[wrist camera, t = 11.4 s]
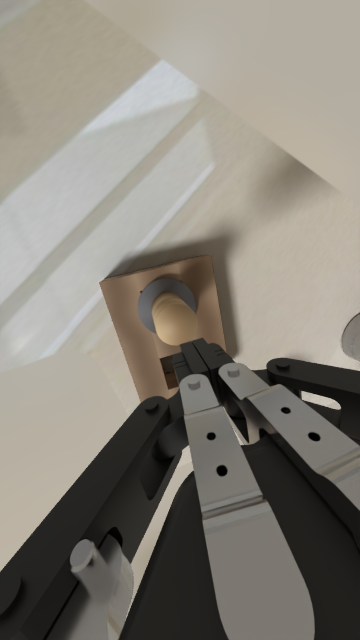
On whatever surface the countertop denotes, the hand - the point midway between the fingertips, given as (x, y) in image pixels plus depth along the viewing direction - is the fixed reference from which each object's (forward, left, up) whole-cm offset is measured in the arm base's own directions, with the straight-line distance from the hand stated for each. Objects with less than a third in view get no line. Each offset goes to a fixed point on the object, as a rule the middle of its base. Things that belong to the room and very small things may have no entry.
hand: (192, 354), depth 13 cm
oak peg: (0, 0, -17) cm, 17 cm away
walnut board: (0, +4, -17) cm, 18 cm away
